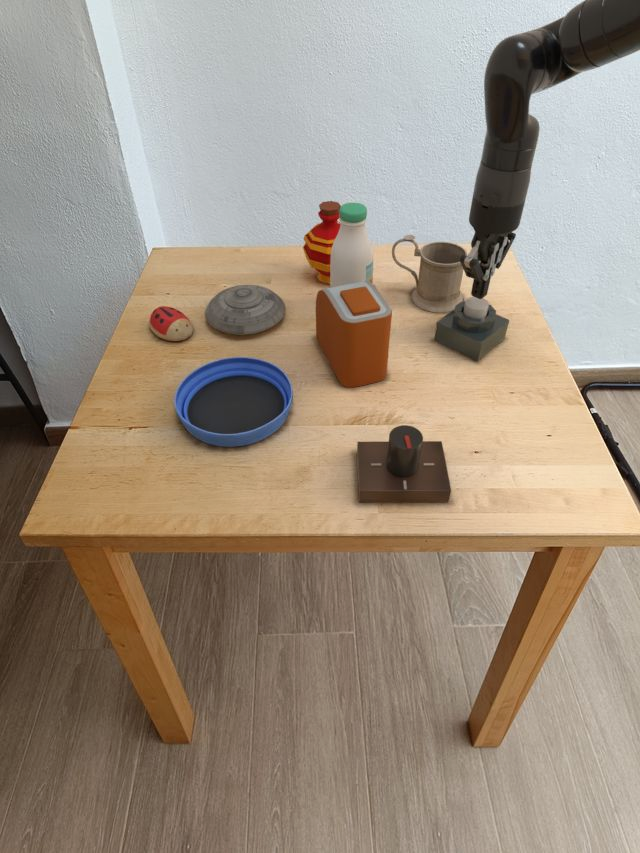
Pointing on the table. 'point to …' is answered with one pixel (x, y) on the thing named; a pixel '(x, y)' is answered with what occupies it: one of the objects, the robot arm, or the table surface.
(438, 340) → the push button base
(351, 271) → the milk bottle
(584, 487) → the table surface
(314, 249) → the potion bottle
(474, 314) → the grey push button
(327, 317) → the alarm clock
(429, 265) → the mug
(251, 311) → the flying saucer
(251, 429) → the bowl
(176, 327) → the ladybug figurine
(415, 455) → the dial
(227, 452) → the table surface
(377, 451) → the dial panel
